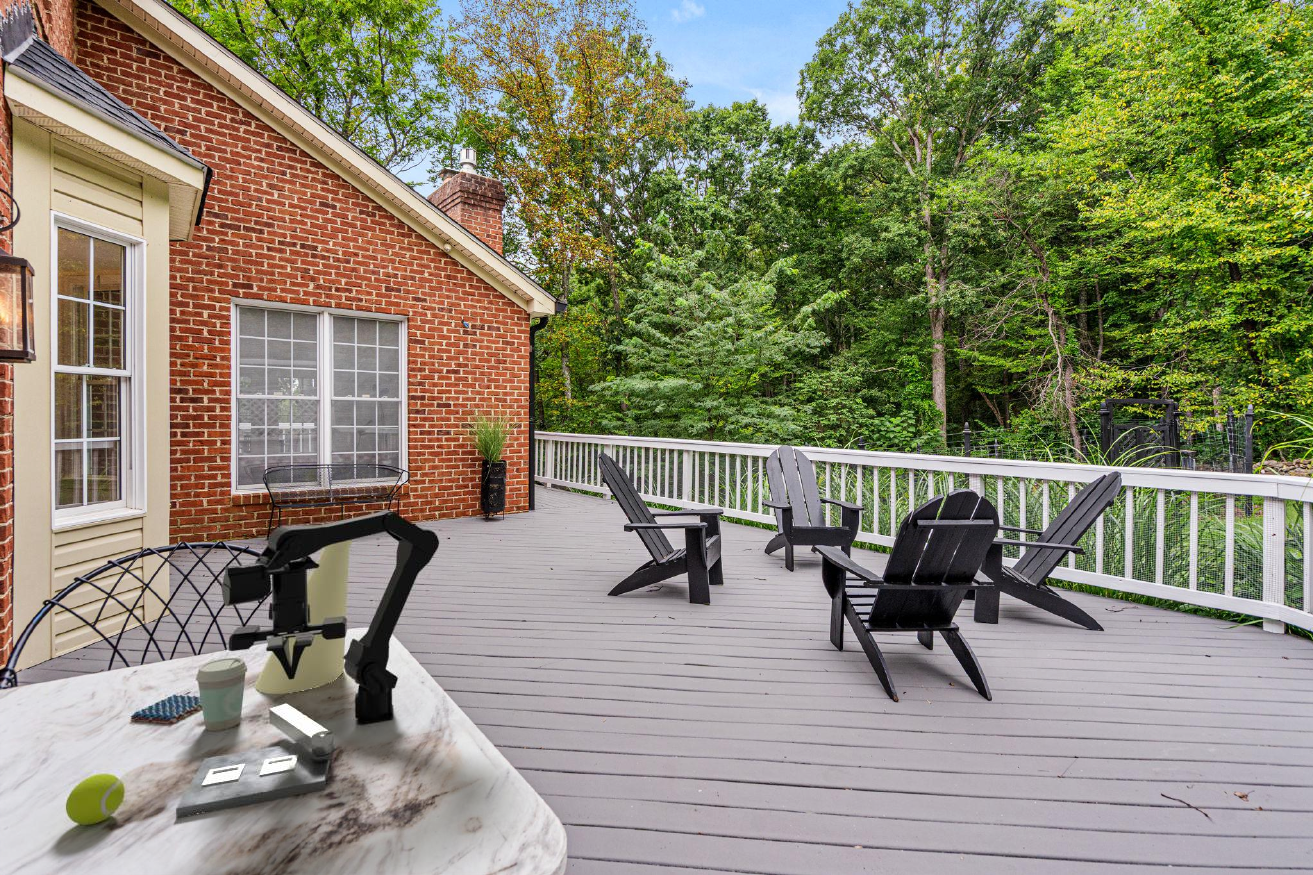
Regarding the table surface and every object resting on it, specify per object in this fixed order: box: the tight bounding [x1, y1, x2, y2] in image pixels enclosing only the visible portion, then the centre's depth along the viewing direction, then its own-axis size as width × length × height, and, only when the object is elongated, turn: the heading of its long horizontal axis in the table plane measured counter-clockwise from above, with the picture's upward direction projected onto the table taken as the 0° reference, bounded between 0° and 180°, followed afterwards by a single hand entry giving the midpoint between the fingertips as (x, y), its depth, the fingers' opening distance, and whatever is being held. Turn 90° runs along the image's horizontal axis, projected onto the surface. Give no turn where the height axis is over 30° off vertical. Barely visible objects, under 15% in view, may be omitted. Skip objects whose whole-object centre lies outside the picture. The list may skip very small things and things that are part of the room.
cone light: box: [254, 540, 352, 695], centre depth 152 cm, size 25×18×35 cm
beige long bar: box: [268, 703, 334, 756], centre depth 118 cm, size 21×3×3 cm, turn 50°
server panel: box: [175, 742, 334, 819], centre depth 110 cm, size 21×16×2 cm
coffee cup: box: [195, 657, 248, 732], centre depth 129 cm, size 8×8×12 cm
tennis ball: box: [65, 773, 125, 826], centre depth 98 cm, size 7×7×7 cm
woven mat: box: [130, 694, 202, 724], centre depth 136 cm, size 10×11×2 cm
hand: (291, 678), depth 122 cm, fingers closed
